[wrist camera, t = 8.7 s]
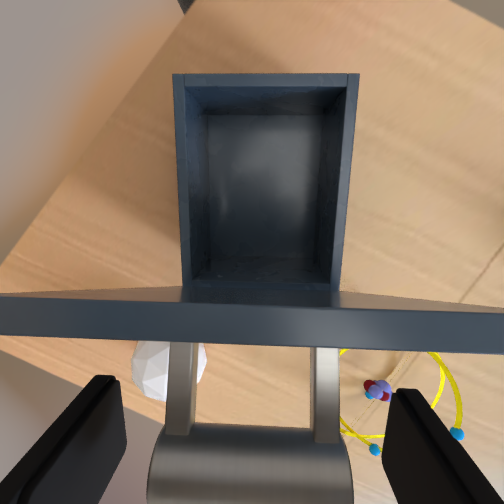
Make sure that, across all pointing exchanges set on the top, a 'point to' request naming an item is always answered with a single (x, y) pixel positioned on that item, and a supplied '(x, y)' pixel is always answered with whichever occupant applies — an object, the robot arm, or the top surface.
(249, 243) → the box
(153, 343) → the geometric ball
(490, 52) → the top surface
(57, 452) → the robot arm
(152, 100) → the top surface
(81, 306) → the freezer lid
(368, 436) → the atom model
